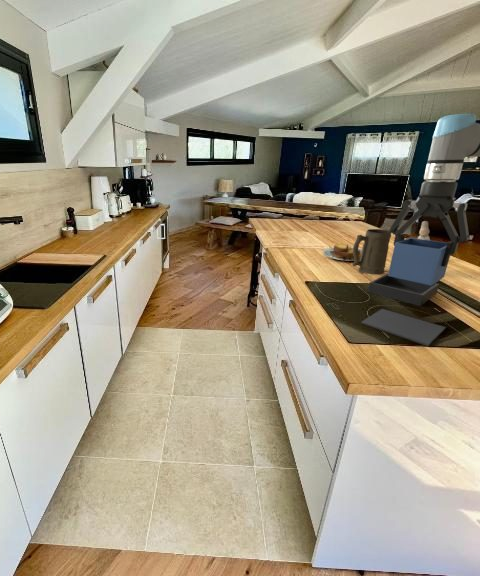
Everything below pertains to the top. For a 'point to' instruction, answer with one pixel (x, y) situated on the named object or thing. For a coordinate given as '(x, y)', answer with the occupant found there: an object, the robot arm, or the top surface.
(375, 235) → the beer stein
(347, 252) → the food on plate
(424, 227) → the figurine
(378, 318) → the mat
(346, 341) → the top surface
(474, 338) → the top surface
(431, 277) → the blue bin
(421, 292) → the charcoal bin
